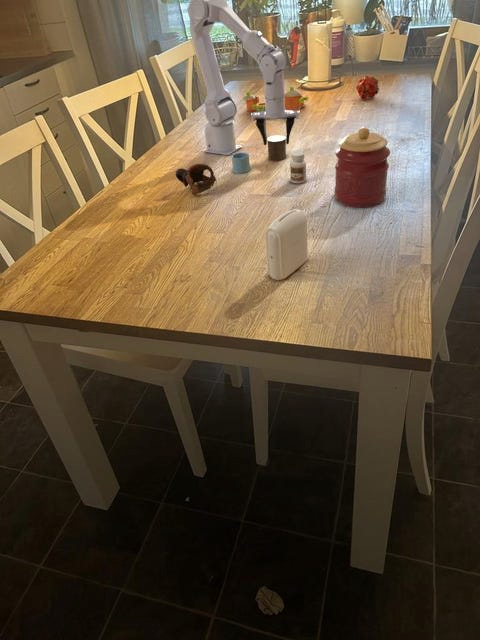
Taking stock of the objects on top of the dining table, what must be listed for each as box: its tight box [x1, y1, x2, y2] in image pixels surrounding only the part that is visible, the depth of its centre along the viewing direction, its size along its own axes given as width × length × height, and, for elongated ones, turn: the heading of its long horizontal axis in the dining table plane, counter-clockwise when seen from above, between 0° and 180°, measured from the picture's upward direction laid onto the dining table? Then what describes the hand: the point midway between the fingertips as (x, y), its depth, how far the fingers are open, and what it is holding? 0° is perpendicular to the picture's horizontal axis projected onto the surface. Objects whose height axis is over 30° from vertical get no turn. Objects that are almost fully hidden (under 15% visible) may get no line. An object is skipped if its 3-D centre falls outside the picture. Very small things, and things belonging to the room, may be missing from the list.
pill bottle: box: [289, 151, 307, 184], centre depth 138 cm, size 4×4×8 cm
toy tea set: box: [242, 85, 309, 113], centre depth 195 cm, size 26×16×10 cm, turn 81°
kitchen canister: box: [334, 126, 391, 208], centre depth 123 cm, size 13×13×18 cm
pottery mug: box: [175, 163, 217, 197], centre depth 140 cm, size 12×10×8 cm
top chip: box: [267, 135, 287, 148], centre depth 153 cm, size 6×6×2 cm
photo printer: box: [265, 208, 309, 281], centre depth 100 cm, size 10×4×12 cm, turn 140°
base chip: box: [267, 151, 287, 162], centre depth 156 cm, size 6×6×2 cm
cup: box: [231, 152, 251, 174], centre depth 149 cm, size 5×5×4 cm
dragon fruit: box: [355, 75, 380, 100], centre depth 199 cm, size 8×8×12 cm
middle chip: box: [267, 144, 287, 154], centre depth 154 cm, size 6×6×2 cm
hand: (276, 143), depth 154 cm, fingers open, 6 cm apart
